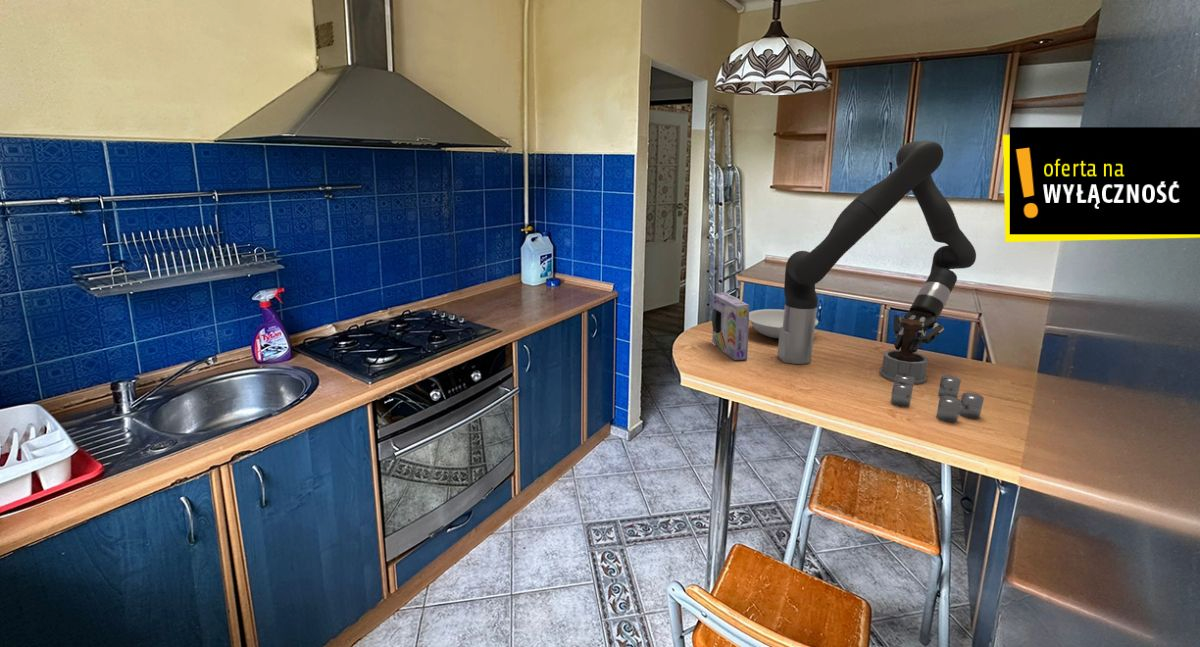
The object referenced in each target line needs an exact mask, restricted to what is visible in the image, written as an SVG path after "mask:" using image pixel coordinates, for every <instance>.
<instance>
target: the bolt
mask: <svg viewBox="0 0 1200 647" xmlns="http://www.w3.org/2000/svg"><path fill="white" fill-rule="evenodd" d="M903 327H904V329H903V339H902V344H901V348H900V349H899V350H900V352H898V353H897V357H896V359H897V360H900V361H906V362H914V360H915V355H914V354H911V353H910V352H909V348H910V346H911V344H912V342H913V340H914V339H916V336H917V329H921V327H922V322H920V321H918V320H913V319H903V320H901V323H900V328H903Z"/></svg>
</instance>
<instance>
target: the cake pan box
mask: <svg viewBox="0 0 1200 647" xmlns="http://www.w3.org/2000/svg"><path fill="white" fill-rule="evenodd" d="M712 309H713V310H712V315H711V324H712V334H711V335H712V340H711V343H712V342H713V343H714V344H715V345H716V346H718V347H719V348H720V349H721V350H720V349H719V348H718V347H717V348H718V349H719V350H720V351H722V352H723V353H724V354H725V355H727V356H728V357H730V358H731V359H732V360H734V361H748V355H749V354H748V350H749V349H748V348H749V322H750V321H749V312H750V304H748V303H746V302H744V301H742V300H741V299H740V298H737V297H736V296H733V295H731V294H729V293H728V292H726V291H725V292H717V293H713V300H712ZM714 344H713V345H714ZM715 345H714V346H715ZM716 346H715V347H716Z"/></svg>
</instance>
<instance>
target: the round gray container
mask: <svg viewBox="0 0 1200 647" xmlns="http://www.w3.org/2000/svg"><path fill="white" fill-rule="evenodd" d="M900 350H901V349H899V350H896V349H890V350H886V351H884V352H883V357H882V358H883V359H882V364H881V367H880V368H879V372H878V373H879V374H878V375H879V376H880V377H882V378H883V379H886V380H888V381H890V380H891V381H892V382H893V383H895V377H896V374H899V373H903V374H909V375H912V376H914V378H915V379H914V385H921V384H925V383H926V382H927V378H928V376H927V367H928V364H929V358H928V357H927V356H925V355H923V354H920V353H917V352H914V353H913V354H914V355H915V360H914V362H906V361H900V360H897V359H896V357H897V353H898V352H900Z"/></svg>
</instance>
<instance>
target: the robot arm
mask: <svg viewBox="0 0 1200 647" xmlns="http://www.w3.org/2000/svg"><path fill="white" fill-rule="evenodd" d="M943 159H944V150H943V147H942V146H941V144H939V143H938V142H936V141H933V140H919V141H918V140H916V141H910V142H907V143H905V144H903V145H902V146H901V147H900V148H899V150H898V151H897V153H896V156H895V161H896V166H897V168H895V169H894V171H892V172H891V173H890V174H889V175H888V176H886V177H885V178H884V179H882V180H881V181H879V182H877V183H876V184H874V185H873V186H871V187H869V188H867V189H866V190H865V191H863V192H862V193H860V194H859V195H858V196H857V197H856V198H854V199H853V200H852V201H851V202H850V203H849V204H848V205H847V206H846V207H845V208H844V209H843V210H842V211H841V212H840V214H839V215H838V217H837V218H836V220H835V221H834V224H833V226H832V227H831V229H830V231H829V233H828V234H827V235H826V237H825V238H824V239H823V240H822V241H821V242H820V243H819V244H818V245H816V247H815V248H814V249H812V250H811V251H806V250H799V251H796V252H794V253H793V254H791V255H790V256H789V258H788V260H787V262H786V266H785V271H784V272H785V273H784V288H783V294H784V299H785V300H784V309H783V310H784V318H783V327H780V335H779V339H778V345H777V346H778V347H777V357H778V358H779V360H780V361H781V362H783V363H787V364H792V365H806V364H810V363H811V361H812V354H813V346H814V339H815V329H816V326H815V322H816V319H817V312H818V305H819V298H818V296H817V292H816V284H818V283H820V282H821V281H822V280H823V279H824V278H825V277H826V275H827V274H828V273H829V272H830V271H831V270H832V269H833V267H834V266H835V265H836V264H837V263H838V262H839V260H840V259H841V258H842V257H843V256H844V255H845V254H846V253H847V252H848V251H849V250H850V249H851V248H853V247H854V246H855V245H856V244H857V243H858V242H859V240H861V239H862V238H863V237H864V236H865V235H866V234H867V233H868V232H870V231H871V230H872V229H873V228H874V227H875V226H876V225H877V224H878V223H879V222H880V221H881V220H882V219H883V218H884V217H885V216H886V215H887V214H888V213H889V212H890V211H891V210H892V209H893V208H894V207H895V206H896V205H897V204H898V203H899V202H900V201H901V200H903V199H904V197H906V195H908V193H910V192H911V191H912V194H913V195H914V197H915V199H916V201H917V203H918V205H919V207H920V209H921V211H922V214H923V216H924V219H925V222H926V225H927V227H928V229H929V231H930V234H931V237H932V239H933V240H934V242H937V243H941V244H945V245H943V246H940V247H939V248H937V249H936V251H935V252H934V254H933V256H932V257H933V258H932V263H931V268H930V272H929V275H928V277H927V279H926V281H925V282H924V284H923V286H922V287H921V288H920V289H919V291H918V293H917V295H916V297H915V298H914V300H913V302H912V304H911V306H910V308H909V310H908V311H907V312H906V313H905V314H904V315H898V314H894V315H893V333H894V335H895V336H896V339H895V341H894V343H893V345H894V348H895V350H901V344H902V339H903V329H904V327H900V323H901V320H903V319H913V320H918V321H920V322H922V327H921V329H917V333H916V338H915V339H914V340H913V342H912V344H911V346H910V348H909V352H910V353H911V354H913V353H917V352H918V349H919V348H920V347H921V344H923V343H925V344H930V343H931V342H932V341H934V340H935V339H937V337H939V336H940V335H941V334H943V333H944V332H945V328H944V325H943V324H942V323H940V324H939V323H938V319H939V317H940V315H941V313H942V312H943V310H944V308H945V306H946V305H947V302H948V301H949V298H950V294H951V293H952V292H953V289H954V287H955V285H956V284H957V280H958V276H957V274H956V273H955V272H954V271H953V270H957V269H958V270H959V269H967V268H970V267H972V266H973V265H974V264H975V262H976V260H977V252H976V249H975V247H974V245H973V244H972V242H971V241H970V240H969V239H968V237H967V236H966V234H964V232H963V231H962V229H960V226H959V224H958V222H957V217H956V216H955V213H954V210H953V208H952V206H951V204H950V203H949V201H948V200H947V199H946V197H945V196H944V195H943V194H942V192H941V191H940V190H939V188H938V187H937V185H936V183H935V181H934V179H933V176H932V174H934V173H935V172H936V171H937V169H938V168H939V167H940V166H941V164H942V161H943ZM930 329H931V330H930ZM929 330H930V331H929ZM927 331H928V332H927Z"/></svg>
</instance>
